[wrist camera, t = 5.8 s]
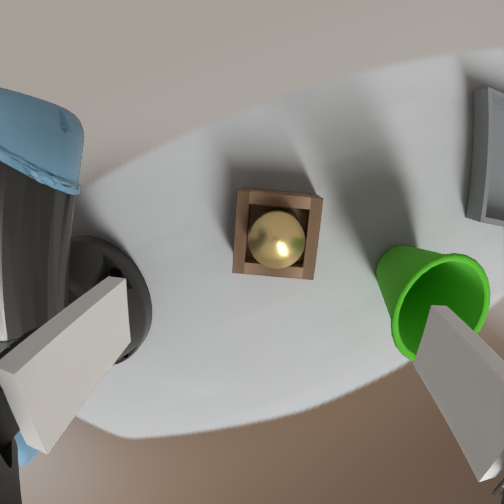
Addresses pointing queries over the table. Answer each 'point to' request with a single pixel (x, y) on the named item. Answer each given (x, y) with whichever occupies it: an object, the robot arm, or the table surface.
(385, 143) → the table surface
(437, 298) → the cup
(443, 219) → the table surface
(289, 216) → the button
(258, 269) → the block
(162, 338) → the table surface
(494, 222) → the tray
